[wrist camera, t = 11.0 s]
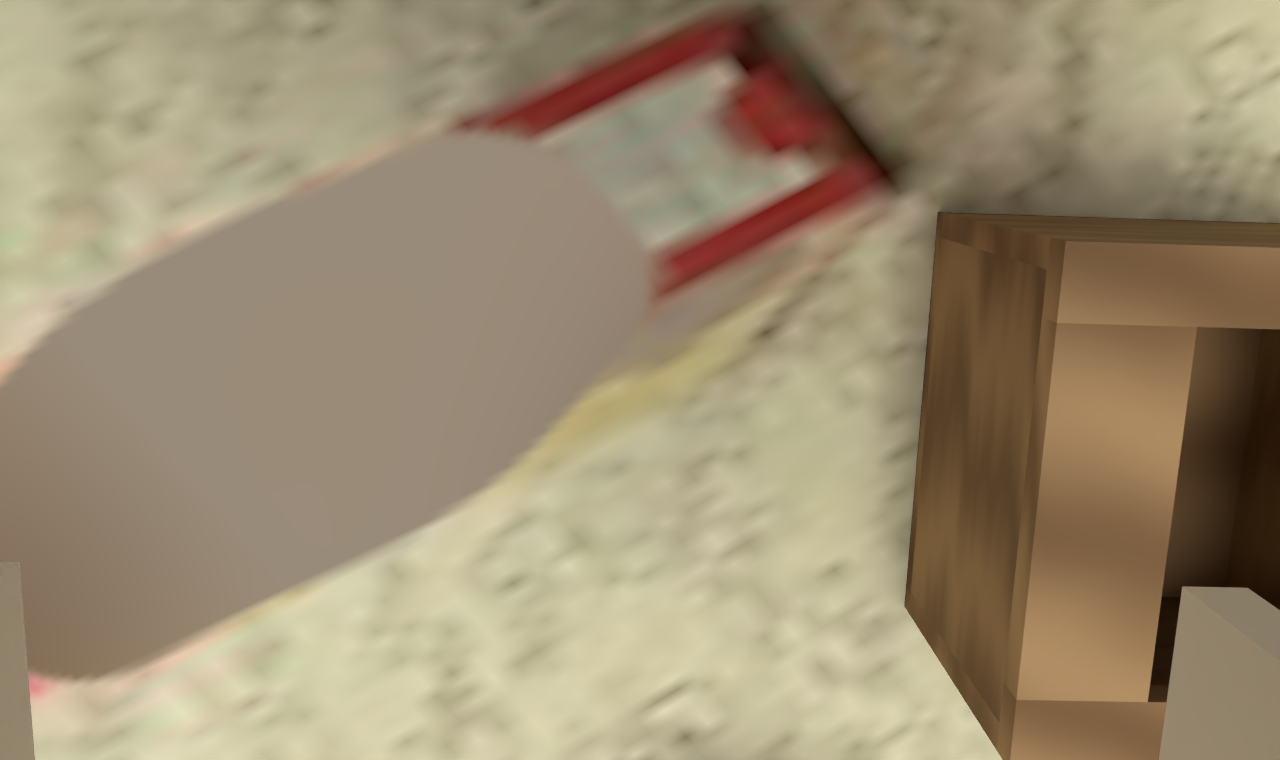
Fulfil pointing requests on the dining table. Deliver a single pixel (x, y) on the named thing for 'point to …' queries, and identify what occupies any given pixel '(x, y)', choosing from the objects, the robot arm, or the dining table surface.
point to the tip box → (1090, 463)
